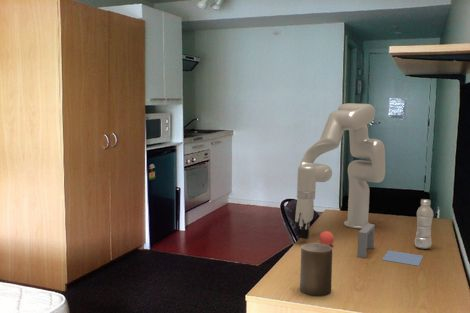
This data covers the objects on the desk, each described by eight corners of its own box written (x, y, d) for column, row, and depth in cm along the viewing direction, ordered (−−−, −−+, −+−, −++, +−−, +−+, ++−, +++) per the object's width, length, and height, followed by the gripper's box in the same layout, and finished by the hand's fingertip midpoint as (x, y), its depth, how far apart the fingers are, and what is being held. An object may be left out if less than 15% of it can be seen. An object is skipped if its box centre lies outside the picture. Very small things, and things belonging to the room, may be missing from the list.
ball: (321, 242, 198) (322, 228, 197) (335, 245, 195) (336, 230, 195) (317, 246, 193) (317, 232, 192) (331, 248, 190) (331, 234, 189)
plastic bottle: (411, 248, 193) (414, 199, 191) (418, 244, 198) (421, 197, 196) (427, 251, 189) (430, 202, 187) (433, 248, 194) (437, 200, 192)
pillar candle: (336, 295, 144) (338, 246, 142) (305, 297, 142) (307, 248, 140) (323, 283, 153) (325, 238, 152) (295, 285, 151) (296, 239, 150)
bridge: (357, 256, 181) (358, 231, 180) (366, 246, 194) (367, 223, 193) (365, 258, 179) (366, 233, 178) (373, 247, 192) (374, 224, 191)
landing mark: (388, 250, 189) (388, 250, 189) (423, 256, 183) (423, 255, 183) (381, 260, 177) (381, 259, 177) (418, 266, 171) (418, 265, 171)
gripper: (303, 191, 205) (302, 232, 206) (290, 196, 191) (289, 240, 193) (320, 193, 201) (318, 235, 203) (308, 198, 188) (306, 243, 190)
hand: (304, 237), depth 198 cm, fingers closed
